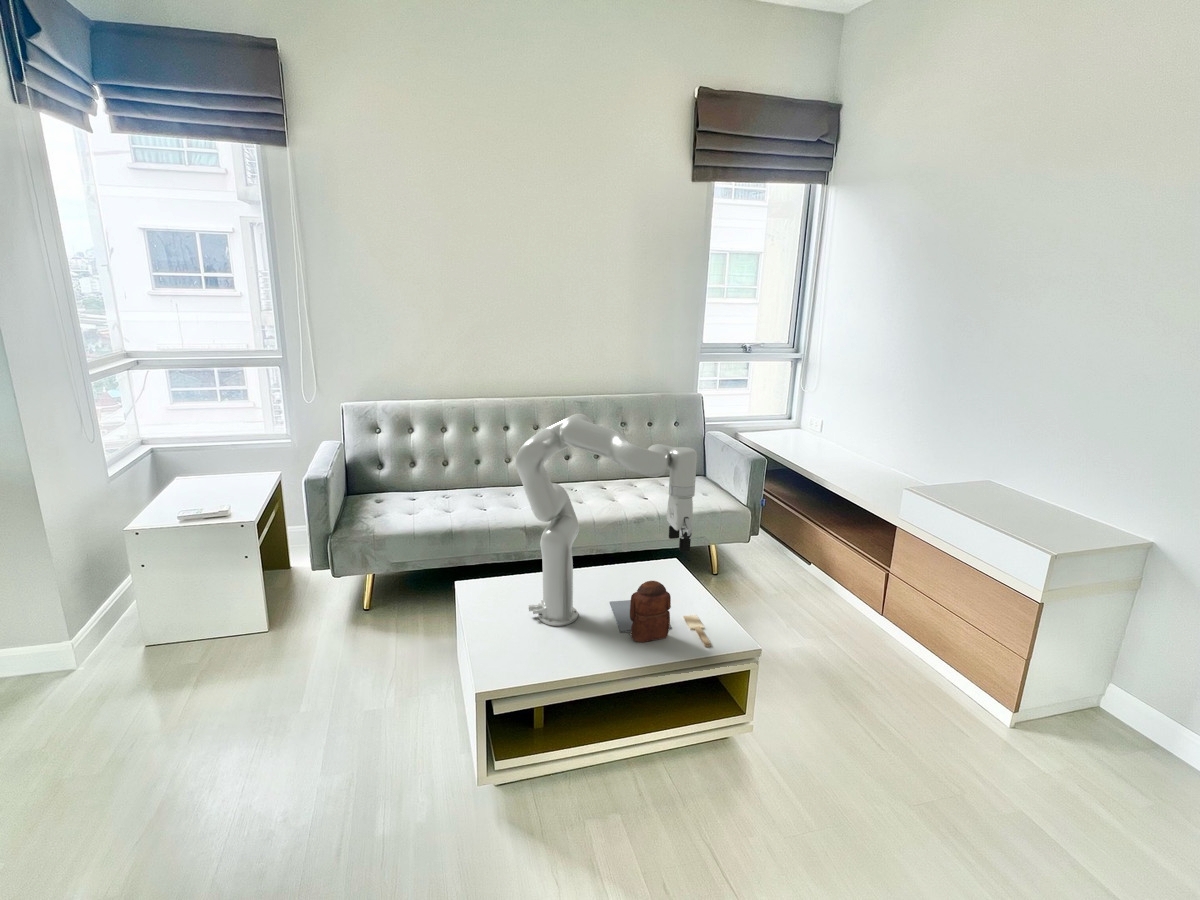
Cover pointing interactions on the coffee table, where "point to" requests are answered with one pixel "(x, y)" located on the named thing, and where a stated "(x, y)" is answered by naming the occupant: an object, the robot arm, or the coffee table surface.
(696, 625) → the turner
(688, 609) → the coffee table surface
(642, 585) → the wooden figurine
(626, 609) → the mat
